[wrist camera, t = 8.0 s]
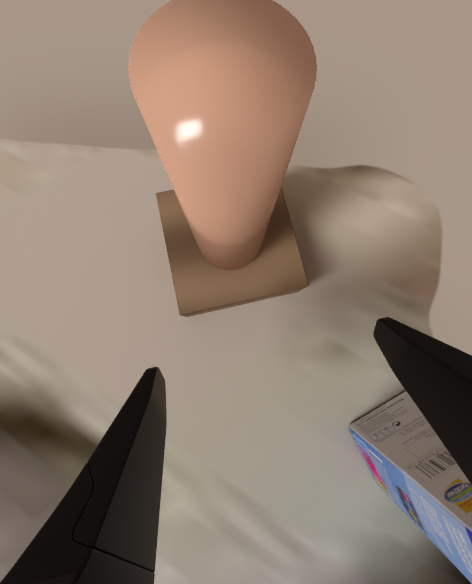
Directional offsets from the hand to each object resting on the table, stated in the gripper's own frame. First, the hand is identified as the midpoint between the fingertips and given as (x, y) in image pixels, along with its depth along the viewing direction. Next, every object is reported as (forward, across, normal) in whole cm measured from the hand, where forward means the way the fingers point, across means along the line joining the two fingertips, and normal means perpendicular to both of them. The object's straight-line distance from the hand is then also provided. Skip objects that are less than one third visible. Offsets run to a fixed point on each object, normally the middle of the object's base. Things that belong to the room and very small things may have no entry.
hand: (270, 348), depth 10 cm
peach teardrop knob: (+12, 0, 0) cm, 12 cm away
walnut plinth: (+14, 0, +2) cm, 14 cm away
